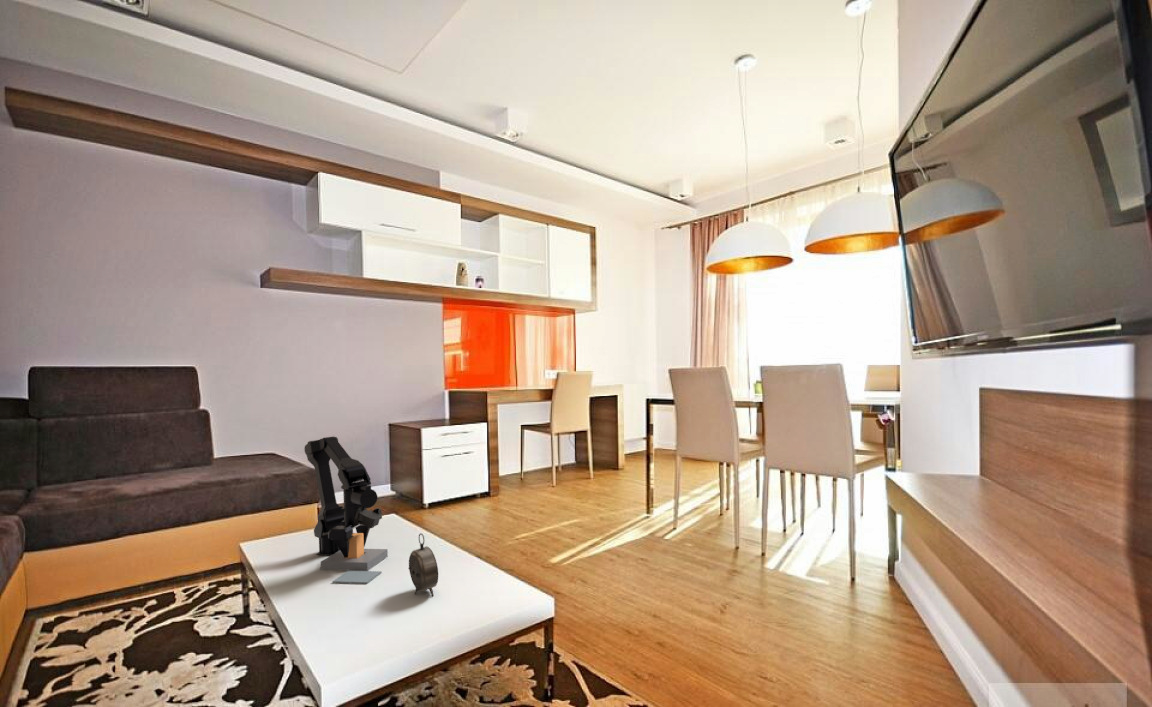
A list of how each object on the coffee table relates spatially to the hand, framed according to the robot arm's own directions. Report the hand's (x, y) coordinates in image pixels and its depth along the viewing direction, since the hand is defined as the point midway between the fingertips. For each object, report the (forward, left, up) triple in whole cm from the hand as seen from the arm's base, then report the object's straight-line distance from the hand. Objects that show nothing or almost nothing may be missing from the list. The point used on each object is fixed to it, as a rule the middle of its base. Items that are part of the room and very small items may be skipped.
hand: (354, 552), depth 169 cm
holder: (0, 0, -4) cm, 4 cm away
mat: (+8, -12, -4) cm, 14 cm away
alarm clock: (+33, -20, -4) cm, 39 cm away
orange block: (0, 0, -4) cm, 4 cm away
